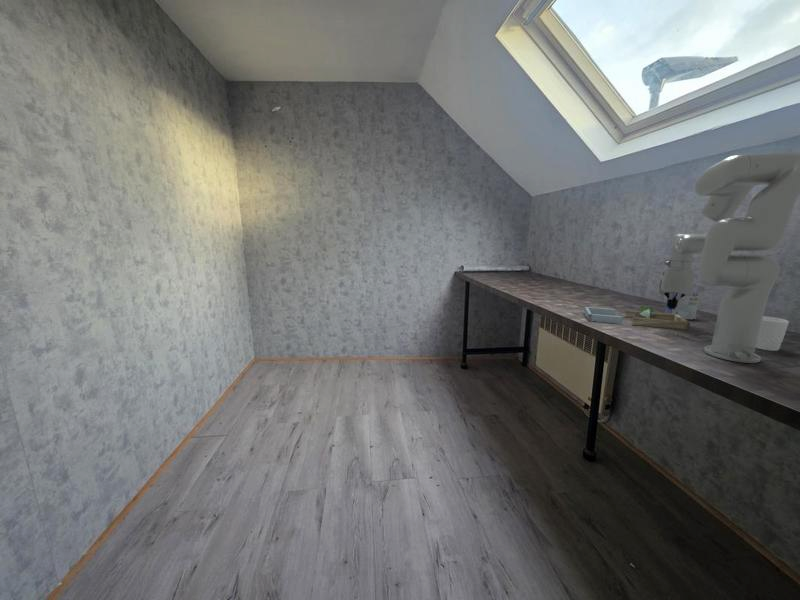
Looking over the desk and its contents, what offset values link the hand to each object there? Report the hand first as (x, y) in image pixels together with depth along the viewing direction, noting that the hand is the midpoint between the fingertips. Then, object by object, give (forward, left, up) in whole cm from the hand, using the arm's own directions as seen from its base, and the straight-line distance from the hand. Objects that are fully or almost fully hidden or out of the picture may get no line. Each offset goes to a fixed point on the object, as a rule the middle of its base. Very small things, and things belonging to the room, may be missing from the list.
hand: (671, 308), depth 136 cm
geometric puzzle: (-1, +8, -7) cm, 11 cm away
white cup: (-23, -20, -7) cm, 31 cm away
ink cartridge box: (+13, -8, -7) cm, 17 cm away
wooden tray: (-1, +5, -7) cm, 8 cm away
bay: (-1, +24, -7) cm, 25 cm away
